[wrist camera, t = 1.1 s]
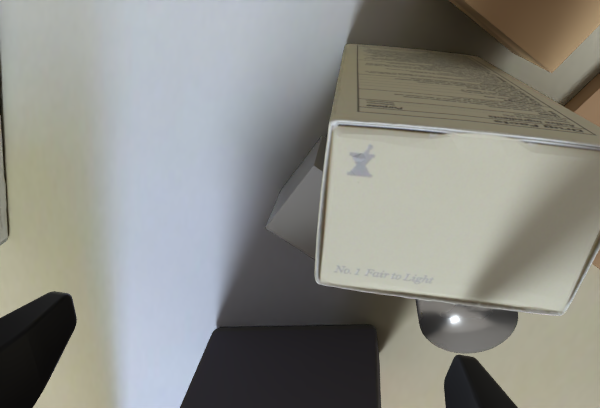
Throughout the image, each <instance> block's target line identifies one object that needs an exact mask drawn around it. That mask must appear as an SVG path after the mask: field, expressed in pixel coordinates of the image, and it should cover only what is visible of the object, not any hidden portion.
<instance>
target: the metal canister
mask: <svg viewBox="0 0 600 408" xmlns="http://www.w3.org/2000/svg"><path fill="white" fill-rule="evenodd" d="M416 305H417V312H418V318H419V324H420V328H421V331H422V333H423V334H424V336H425V337H426V338H427V339H428V340H429V341H430V342H431V343H433V344H434V345H436V346H437V347H439V348H441V349H444V350H447V351H450V352H455V353H476V352H482V351H486V350H489V349H491V348H494V347H496V346H498V345H499V344H501V343H502V342H504V341H505V340H506V339H507V338H508V337H509V336H510V335H511V334H512V332H513V331H514V329H515V327H516V325H517V321H518V312H517V311H510V310H502V309H491V308H483V307H476V306H467V305H461V304H450V303H445V302H437V301H426V300H419V299H416Z"/></svg>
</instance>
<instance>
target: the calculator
mask: <svg viewBox="0 0 600 408" xmlns="http://www.w3.org/2000/svg"><path fill="white" fill-rule="evenodd" d="M180 408H381V393H380V363H379V351H378V342H377V333H376V328H375V327H374V326H372V325H328V326H276V327H225V328H217V329H215V330H214V331H213V333H212V335H211V337H210V340H209V342H208V344H207V346H206V349H205V351H204V353H203V356H202V358H201V360H200V363H199V365H198V367H197V370H196V372H195V374H194V376H193V379H192V381H191V383H190V386H189V388H188V390H187V393H186V395H185V397H184V400H183V402H182V404H181V406H180Z"/></svg>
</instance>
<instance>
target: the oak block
mask: <svg viewBox="0 0 600 408" xmlns="http://www.w3.org/2000/svg"><path fill="white" fill-rule="evenodd" d="M449 1H450V2H451V3H452V4H454V5H455V6H456V7H457V8H459V9H460V10H461V11H462V12H463V13H465V14H466V15H467V16H468V17H470V18H471V19H472V20H473V21H474V22H476V23H477V24H478V25H479V26H481V27H482V28H483V29H484V30H485V31H487V32H488V33H489V34H490V35H492V36H493V37H494V38H495V39H496V40H498V41H499V42H500V43H501V44H503V45H504V46H505V47H506V48H507V49H509V50H510V51H511V52H512V53H514V54H516V55H518V56H520V57H522V58H524V59H526V60H528V61H530V62H532V63H533V64H535V65H537V66H539V67H541V68H543V69H545V70H547V71H549V72H551V73H552V72H553V71H554V70H555V69H556V68H557V67H558V66H559V65H560V64H561V63H562V62H563V61H564V60H565V59H566V58H567V57H568V56H569V55H570V54H571V53H572V52H573V51H574V50H575V49H576V48H577V47H578V46H579V45H580V44H581V43H582V42H583V41H584V40H585V39H586V38H587V37H588V36H589V35H590V34H591V33H592V32H593V31H594V30H595V29H596V28H597V27H598V26H599V25H600V0H449Z"/></svg>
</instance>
